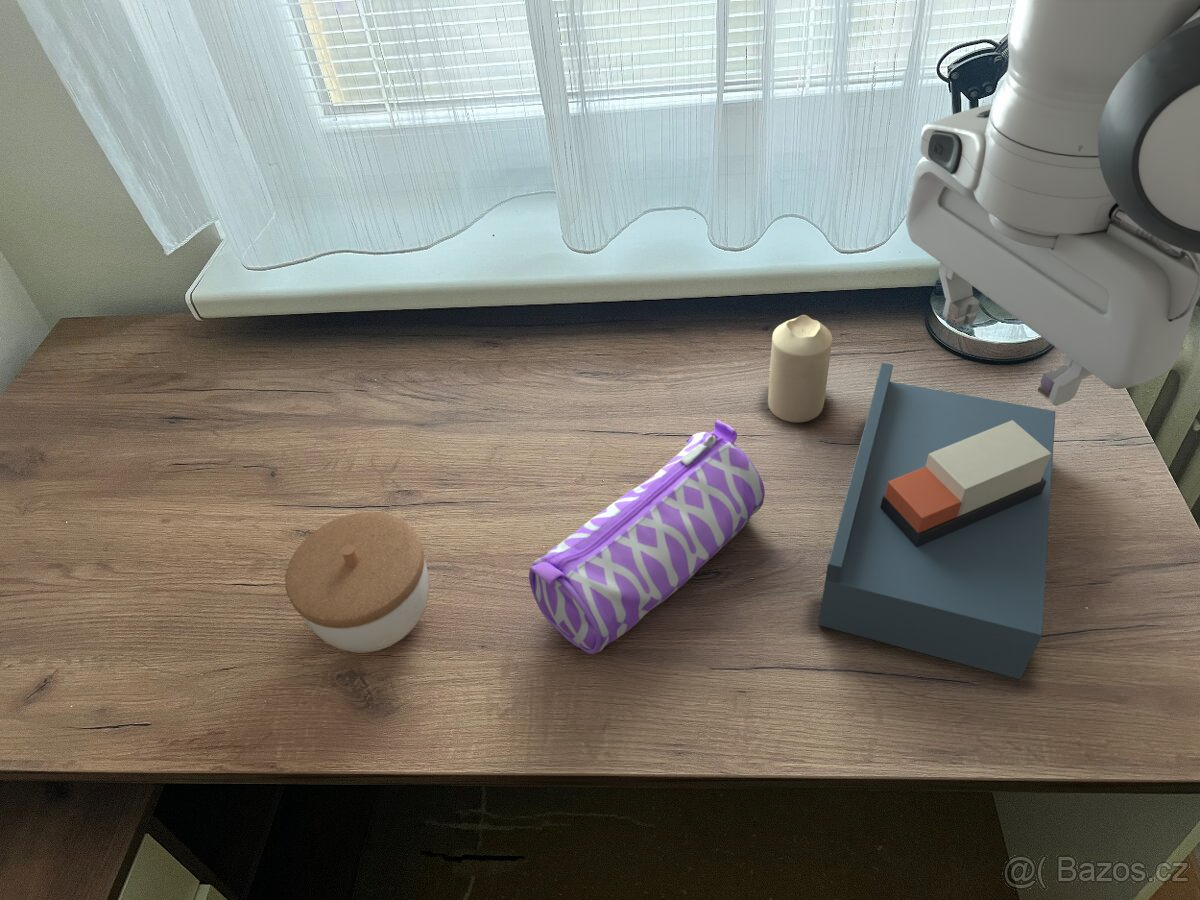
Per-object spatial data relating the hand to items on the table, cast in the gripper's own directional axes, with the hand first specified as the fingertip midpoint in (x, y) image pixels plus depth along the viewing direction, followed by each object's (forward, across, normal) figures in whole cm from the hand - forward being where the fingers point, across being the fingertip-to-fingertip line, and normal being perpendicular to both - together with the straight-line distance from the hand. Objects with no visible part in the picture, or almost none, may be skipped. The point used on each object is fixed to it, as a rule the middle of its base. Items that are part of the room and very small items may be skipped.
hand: (1003, 356), depth 60 cm
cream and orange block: (+14, 0, 0) cm, 14 cm away
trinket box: (+20, +14, +46) cm, 53 cm away
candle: (+20, +21, +2) cm, 29 cm away
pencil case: (+20, +9, +23) cm, 32 cm away
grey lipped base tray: (+20, +1, 0) cm, 20 cm away
